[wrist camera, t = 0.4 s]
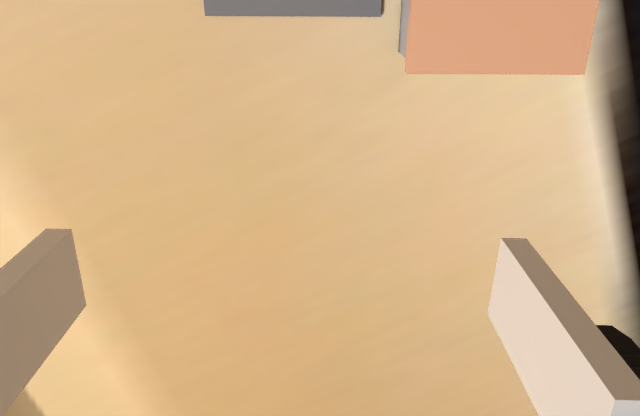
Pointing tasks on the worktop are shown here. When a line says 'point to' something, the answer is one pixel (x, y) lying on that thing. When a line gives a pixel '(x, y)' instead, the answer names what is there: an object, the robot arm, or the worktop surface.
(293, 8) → the mat
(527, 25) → the lid
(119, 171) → the worktop surface
